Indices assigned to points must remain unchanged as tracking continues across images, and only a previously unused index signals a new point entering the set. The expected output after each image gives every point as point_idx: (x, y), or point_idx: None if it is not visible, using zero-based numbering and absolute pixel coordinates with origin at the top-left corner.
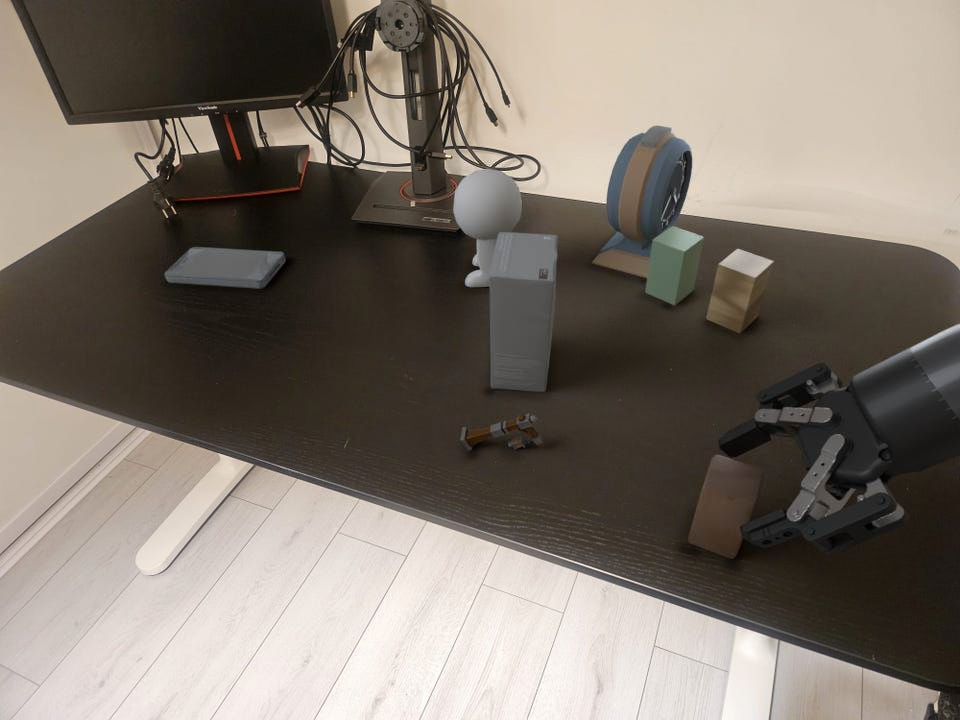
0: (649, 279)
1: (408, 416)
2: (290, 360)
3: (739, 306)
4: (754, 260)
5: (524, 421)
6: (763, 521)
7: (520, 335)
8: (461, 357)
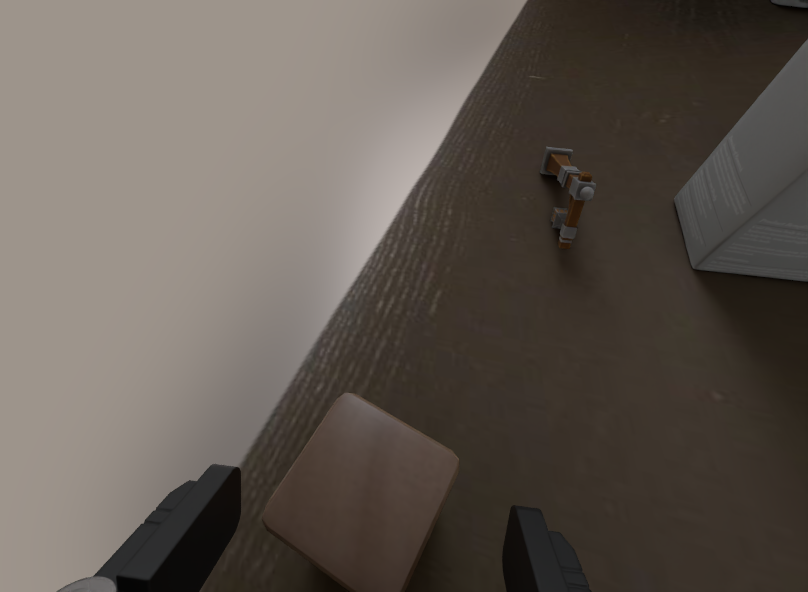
0: None
1: (590, 120)
2: (655, 32)
3: None
4: None
5: (577, 180)
6: (180, 512)
7: (787, 120)
8: None
